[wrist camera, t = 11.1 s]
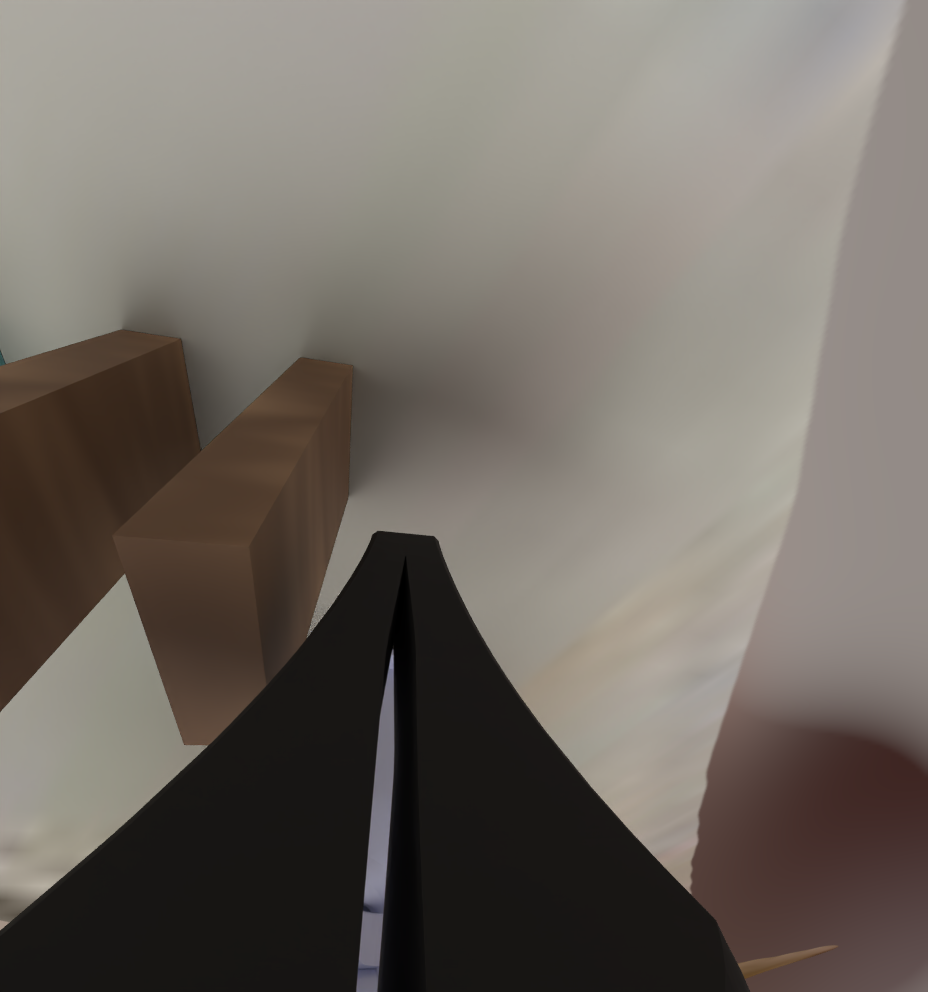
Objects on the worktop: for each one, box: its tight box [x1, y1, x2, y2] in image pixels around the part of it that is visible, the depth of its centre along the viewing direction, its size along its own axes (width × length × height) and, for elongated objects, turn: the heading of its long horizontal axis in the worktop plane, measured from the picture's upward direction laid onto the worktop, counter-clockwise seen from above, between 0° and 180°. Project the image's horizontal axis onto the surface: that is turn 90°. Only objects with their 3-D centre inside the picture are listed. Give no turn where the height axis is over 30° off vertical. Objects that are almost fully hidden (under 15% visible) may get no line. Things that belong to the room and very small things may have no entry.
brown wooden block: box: [112, 357, 353, 745], centre depth 10 cm, size 2×5×9 cm, turn 170°
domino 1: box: [0, 330, 201, 712], centre depth 9 cm, size 2×5×9 cm, turn 170°
